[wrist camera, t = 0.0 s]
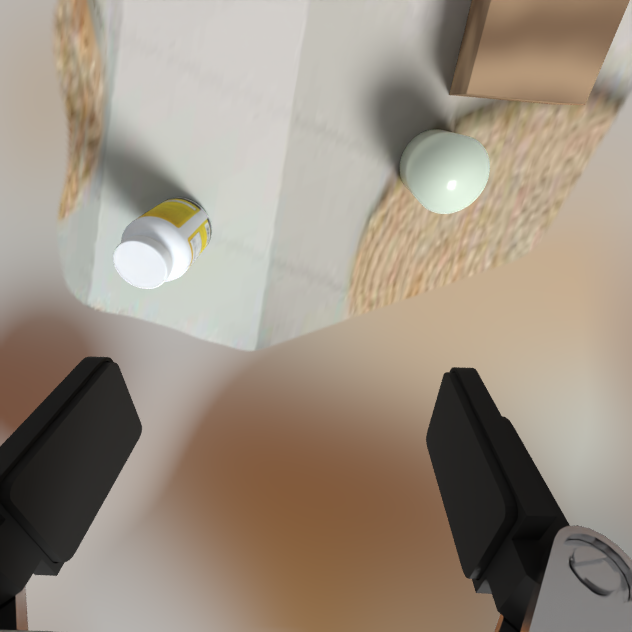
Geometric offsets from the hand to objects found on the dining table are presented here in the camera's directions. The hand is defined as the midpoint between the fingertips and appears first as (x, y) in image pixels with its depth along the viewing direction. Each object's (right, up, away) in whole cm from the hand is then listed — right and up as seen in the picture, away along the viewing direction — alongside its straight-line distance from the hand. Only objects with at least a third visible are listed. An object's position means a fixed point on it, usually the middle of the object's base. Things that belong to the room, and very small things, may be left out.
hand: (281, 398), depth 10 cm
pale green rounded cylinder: (+13, +18, +25) cm, 34 cm away
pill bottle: (-14, +13, +30) cm, 36 cm away
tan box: (+19, +27, +20) cm, 39 cm away
